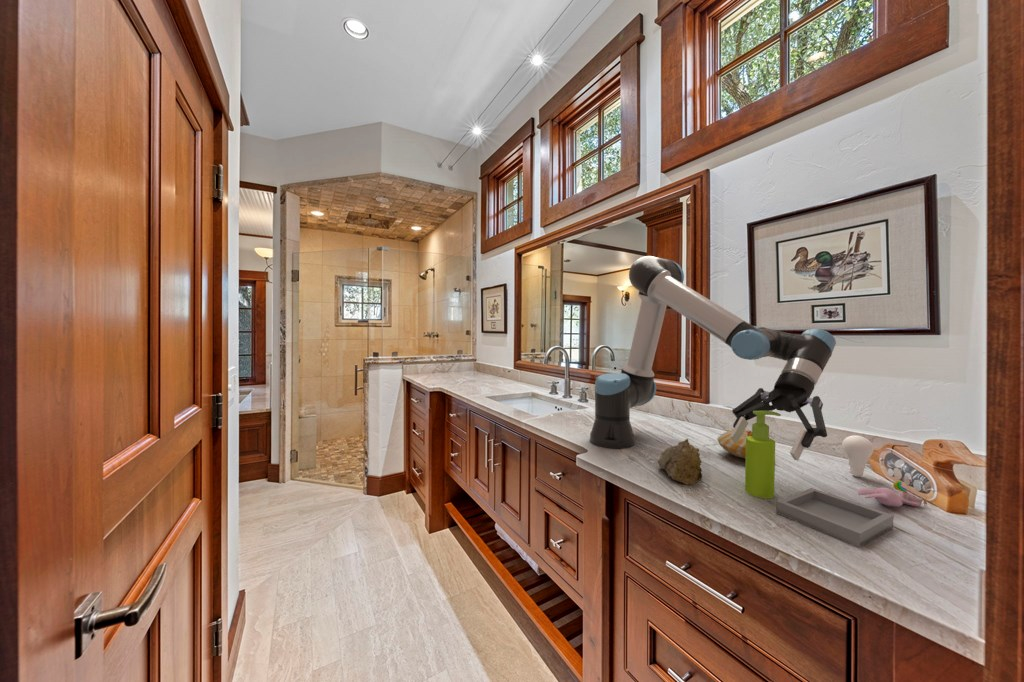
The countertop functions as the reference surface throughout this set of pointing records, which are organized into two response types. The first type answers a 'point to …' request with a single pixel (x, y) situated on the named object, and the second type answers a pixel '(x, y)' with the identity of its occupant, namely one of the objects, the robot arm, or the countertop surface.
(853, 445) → the lightbulb
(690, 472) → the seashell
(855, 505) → the holder tray
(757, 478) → the soap dispenser
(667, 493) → the countertop surface
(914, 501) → the rabbit figure
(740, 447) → the nautilus
